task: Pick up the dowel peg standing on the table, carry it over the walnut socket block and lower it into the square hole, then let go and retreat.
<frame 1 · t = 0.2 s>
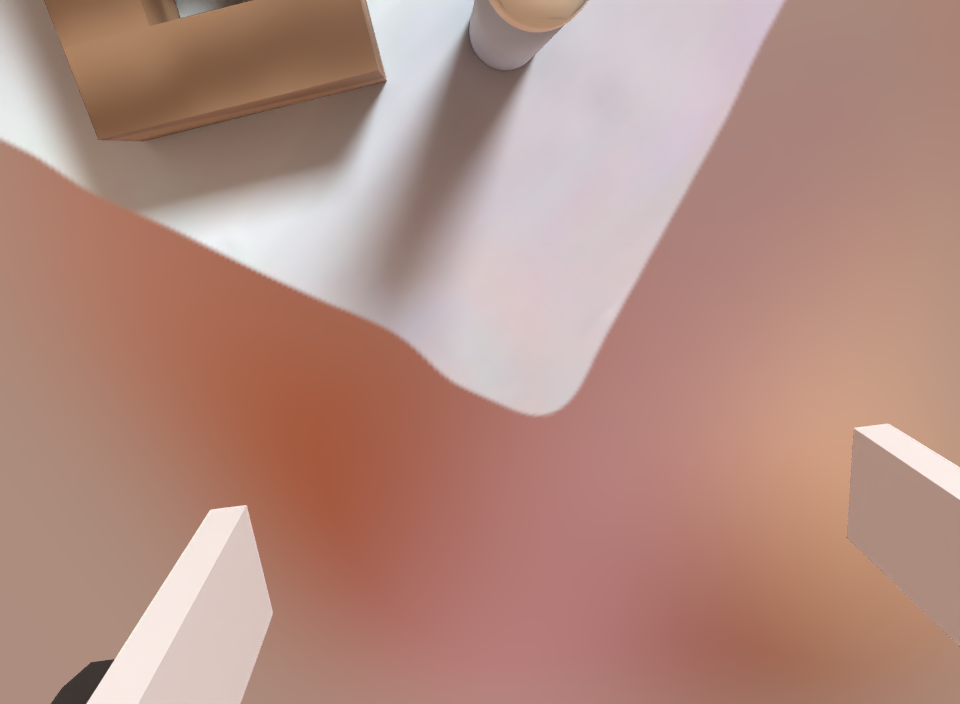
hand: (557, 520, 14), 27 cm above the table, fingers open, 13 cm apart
peg: (505, 31, 36), on the table
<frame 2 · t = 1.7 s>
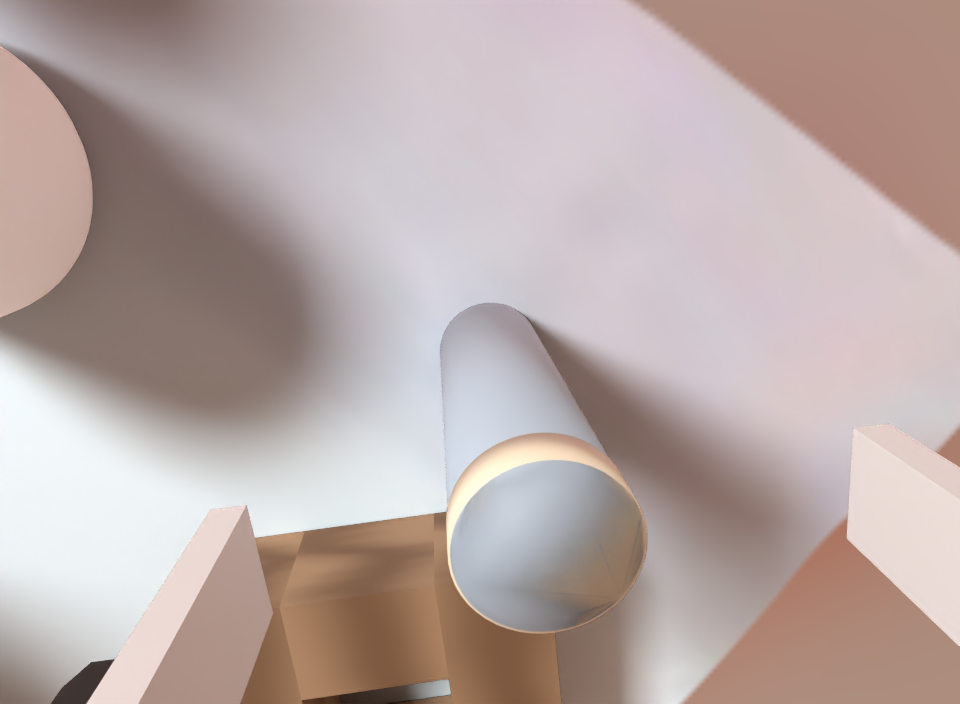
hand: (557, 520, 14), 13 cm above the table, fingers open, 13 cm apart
socket block: (393, 654, 31), on the table
peg: (489, 351, 27), on the table
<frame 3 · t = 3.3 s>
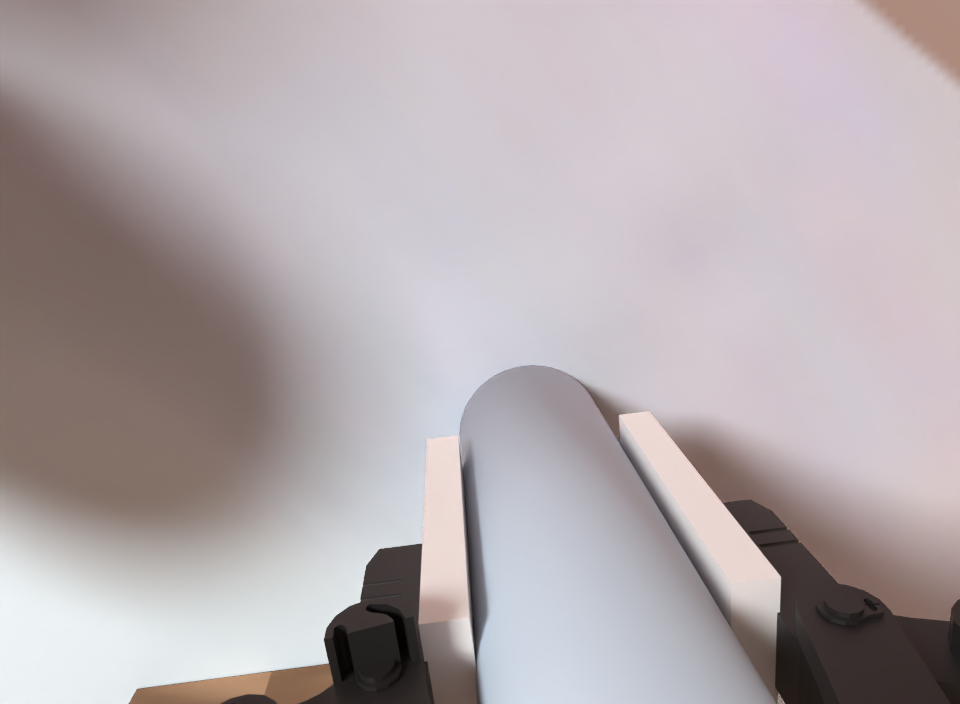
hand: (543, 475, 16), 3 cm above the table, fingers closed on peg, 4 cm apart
peg: (530, 432, 19), on the table, touching gripper
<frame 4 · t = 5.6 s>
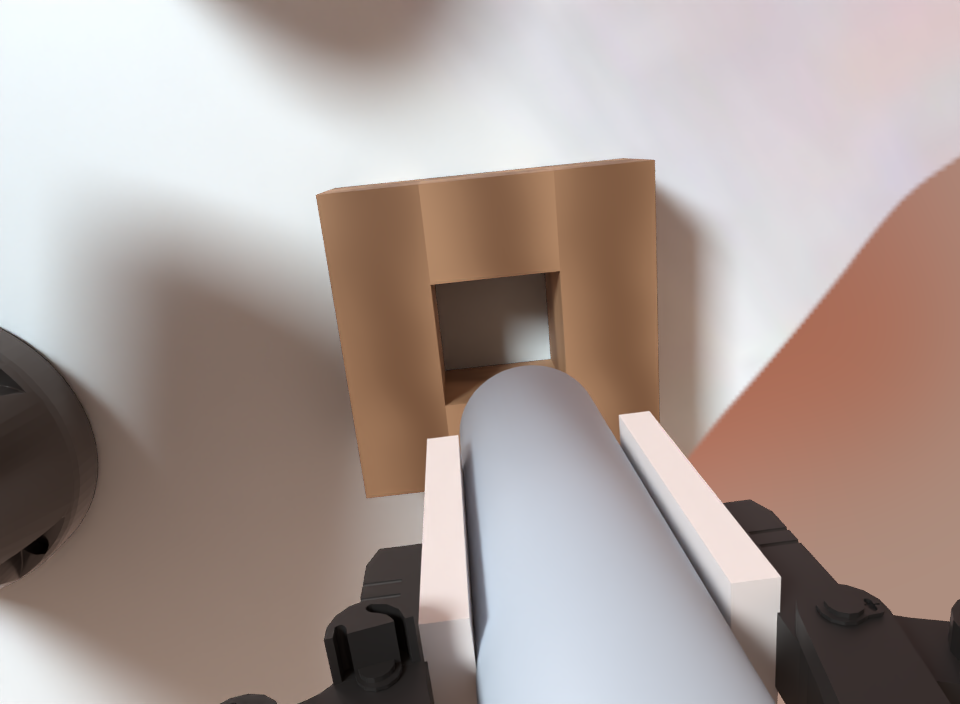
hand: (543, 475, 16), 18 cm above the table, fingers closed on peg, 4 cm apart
socket block: (493, 313, 34), on the table
peg: (529, 431, 19), point 16 cm above the table, touching gripper
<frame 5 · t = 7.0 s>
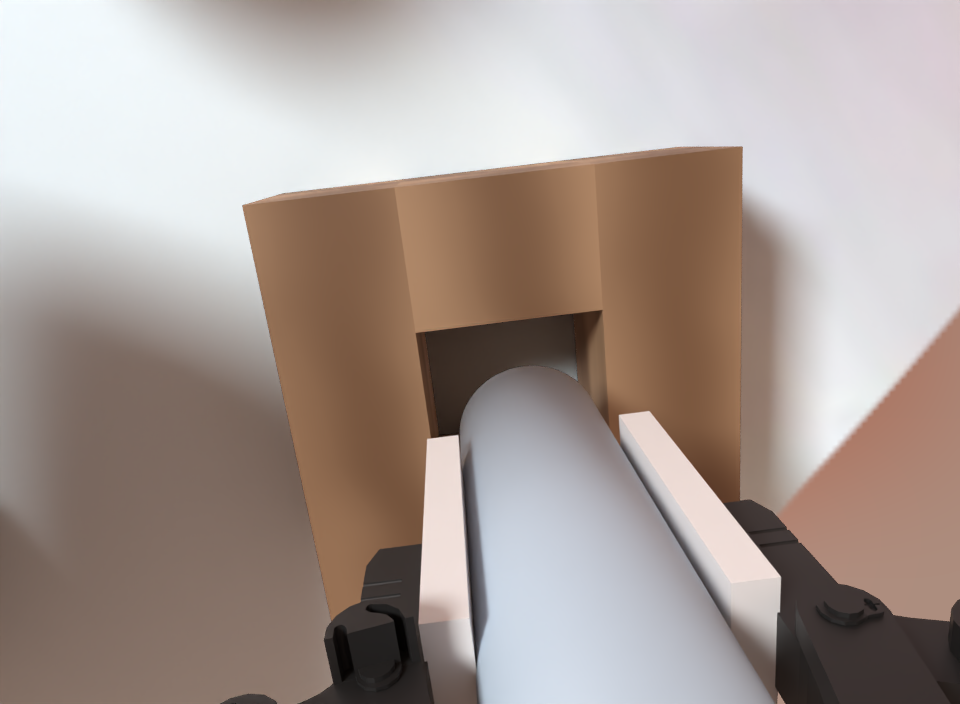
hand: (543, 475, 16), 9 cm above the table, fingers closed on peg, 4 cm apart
socket block: (503, 359, 25), on the table
peg: (529, 432, 19), point 7 cm above the table, touching gripper
when the fingers open (6 cm above the table, at t = 7.9 s): peg drops 2 cm, resting in socket block.
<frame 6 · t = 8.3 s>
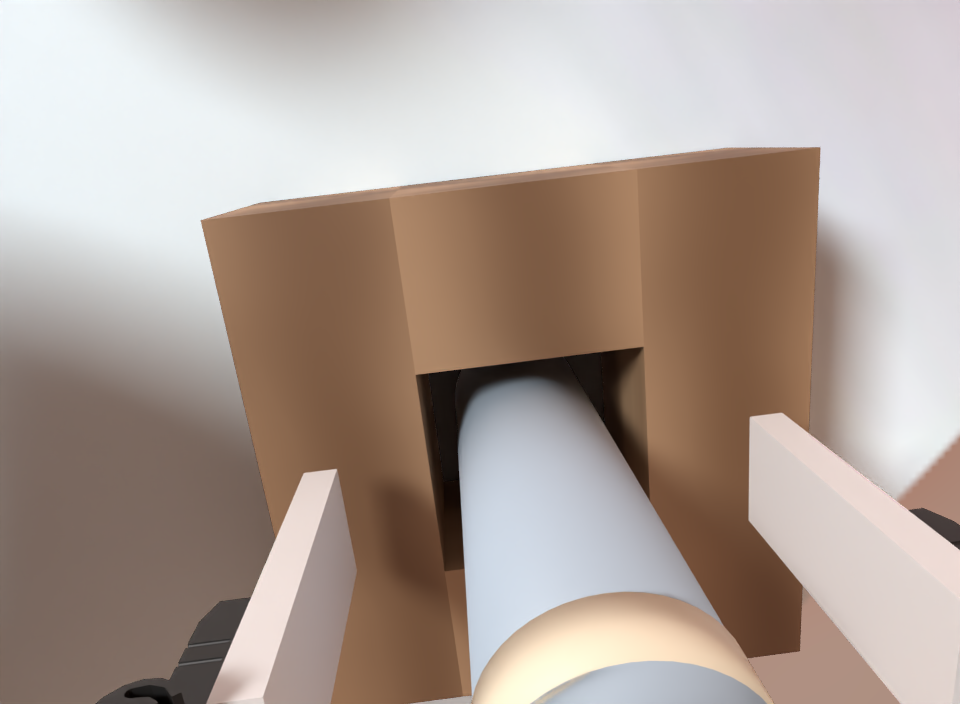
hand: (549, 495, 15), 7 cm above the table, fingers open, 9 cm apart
socket block: (518, 394, 22), on the table
peg: (515, 395, 22), resting in socket block
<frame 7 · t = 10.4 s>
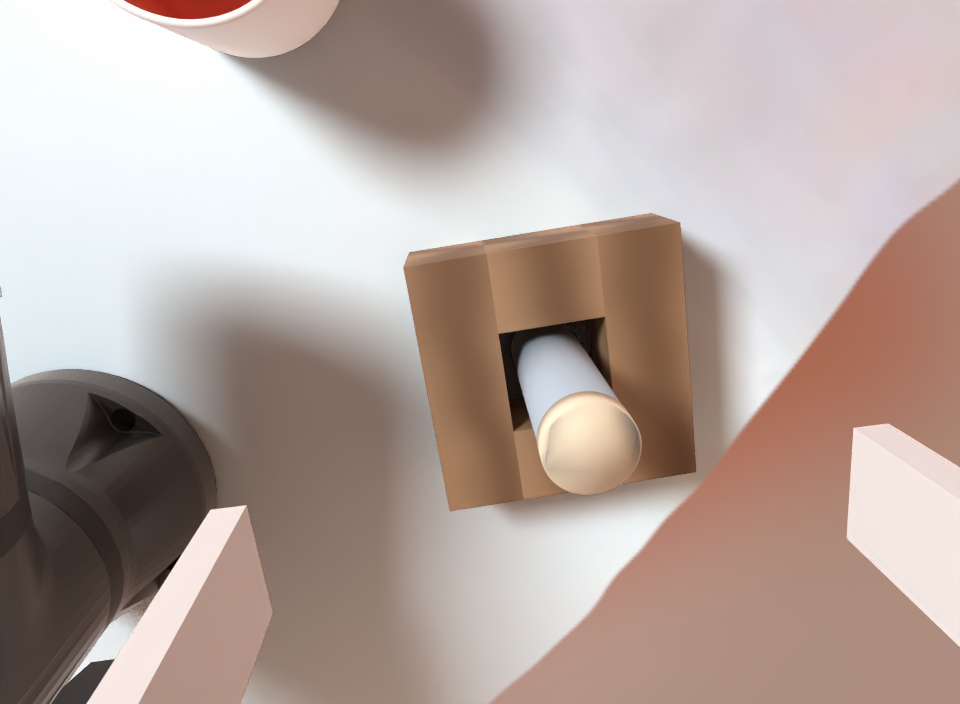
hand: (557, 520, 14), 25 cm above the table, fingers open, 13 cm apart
socket block: (545, 348, 40), on the table
peg: (544, 349, 40), resting in socket block
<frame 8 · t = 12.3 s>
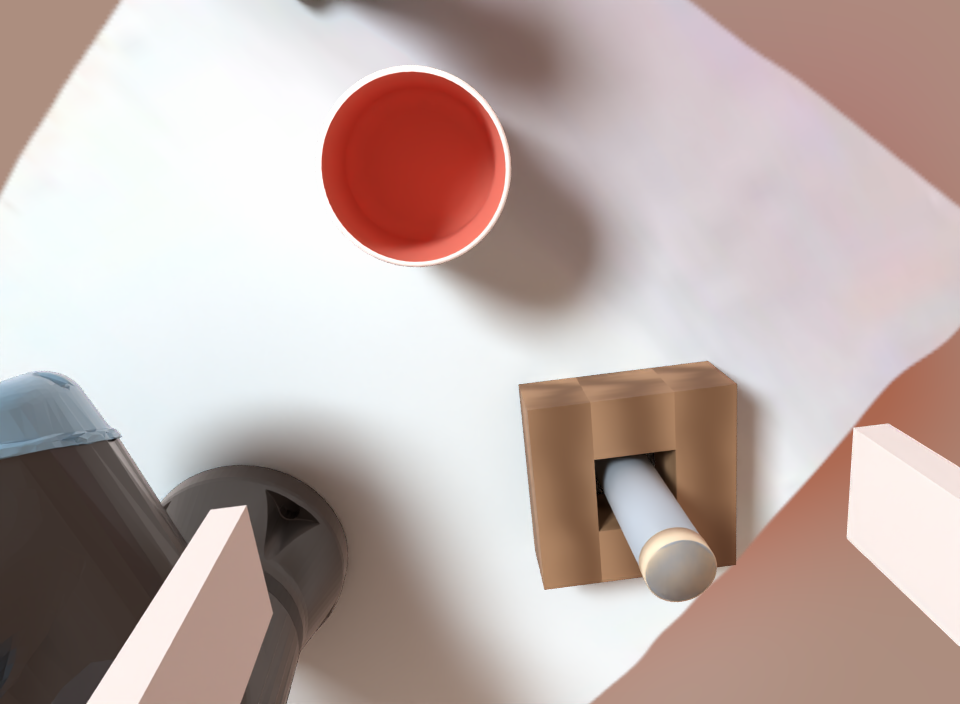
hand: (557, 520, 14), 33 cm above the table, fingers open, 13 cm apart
socket block: (618, 458, 50), on the table
peg: (617, 459, 51), resting in socket block
cup: (420, 165, 44), on the table
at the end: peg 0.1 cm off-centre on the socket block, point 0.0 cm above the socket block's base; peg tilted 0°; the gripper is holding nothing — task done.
